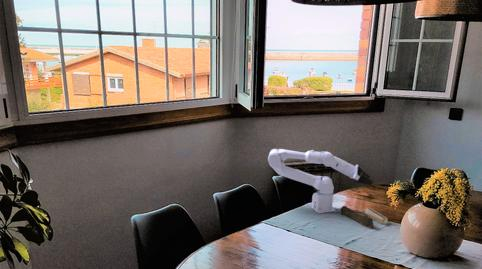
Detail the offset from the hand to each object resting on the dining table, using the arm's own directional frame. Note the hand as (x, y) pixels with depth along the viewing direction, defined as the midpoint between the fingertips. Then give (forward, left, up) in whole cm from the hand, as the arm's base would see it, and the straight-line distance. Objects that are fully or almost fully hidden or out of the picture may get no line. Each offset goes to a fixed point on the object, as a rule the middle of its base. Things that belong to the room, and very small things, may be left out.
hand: (370, 180), depth 170 cm
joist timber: (0, -6, -16) cm, 18 cm away
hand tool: (-9, -6, -17) cm, 20 cm away
